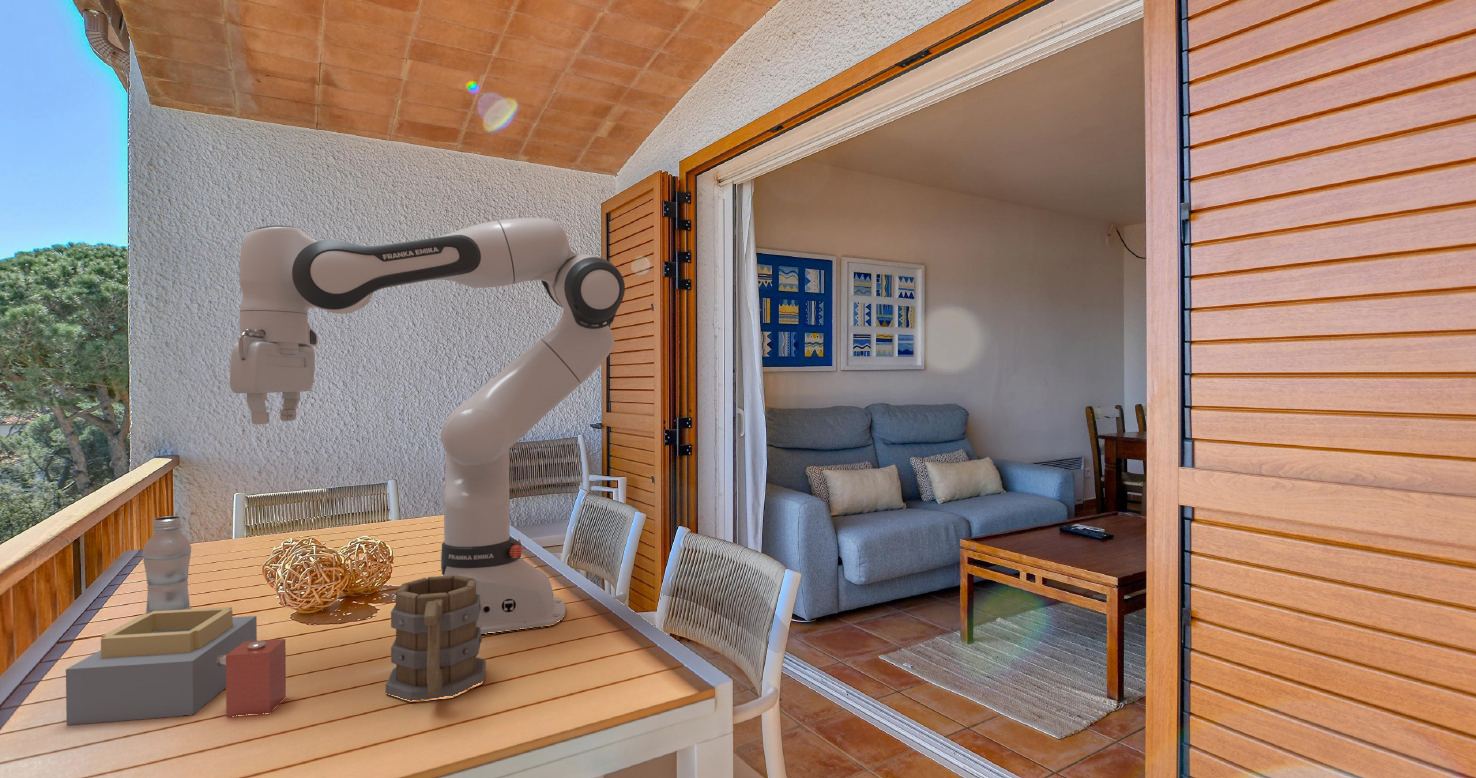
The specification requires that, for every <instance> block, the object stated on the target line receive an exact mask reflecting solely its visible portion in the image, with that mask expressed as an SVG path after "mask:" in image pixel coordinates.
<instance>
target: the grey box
mask: <svg viewBox="0 0 1476 778" xmlns="http://www.w3.org/2000/svg"><path fill="white" fill-rule="evenodd" d="M257 625H258V623H257V615H250V616H249V615H247V616H233V607H232V606H228V607H227V606H226V607H225V606H223V607H209V608H208V607H206V608H191V609H185V610H167V611H153V612H151V613H149V614H145V613H143V614H141V615H139V616H137V617H135V618H133V619H131V620H130V621H127V622H125V623H123V624H122V625H120V626H118V627H116V628H114V629H113V630H110V631H108V632H107V633H104V634H103V635H101V639H100V650H98V651H97V652H95V653H93V654H91V655H89V656H87V657H85V658H83V659H82V660H80V661H79V662H76V663H74V664H72V665H71V666H69V667H67V668H66V669H65V696H66V698H65V702H66V704H65V705H66V707H65V709H66V710H65V711H66V726H71V725H72V726H74V725H75V726H76V725H85V724H98V723H99V724H100V723H111V722H113V723H114V722H123V721H136V720H151V719H160V718H161V719H162V718H174V717H176V718H177V717H184V716H183V715H189V716H194V715H196V713H197V712H199V711H200V710H201V709H202V708H203V707H205V706H206V705H207V704H208V703H209V702H210V700H211V701H212V700H213V699H214V698H216V697H217V695H219V694H220V693H221V692H223V691H224V690H226V666H219V667H218V666H217V664H216V662H217V658H218V656H219V655H227V654H228V653H230V652H231V651H232V650H234V649H235V648H236V647H238V646H239V645H240V644H242V643H243V642H245V641H258V639H257V638H258V636H257V635H258V634H257V633H258V632H257V631H258V630H257V629H258V628H257ZM205 704H206V705H205ZM199 709H200V710H199ZM198 710H199V711H198ZM193 714H194V715H193ZM150 718H151V719H150Z"/></svg>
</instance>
